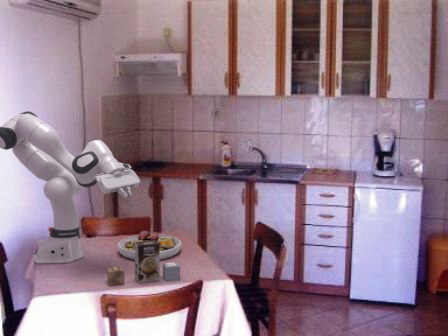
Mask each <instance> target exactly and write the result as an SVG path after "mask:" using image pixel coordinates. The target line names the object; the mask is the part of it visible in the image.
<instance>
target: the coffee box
mask: <svg viewBox="0 0 448 336" xmlns="http://www.w3.org/2000/svg"><path fill="white" fill-rule="evenodd" d="M160 261H161V260H160V253H159V243H158V242H157V241H156V240H150V241H140V242H135V260H134V279H135V281H137V283H138V284H144V283H152V282H158V281H159V282H160V278H161V277H160V273H161V272H160V267H161V266H160V263H161V262H160Z"/></svg>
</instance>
